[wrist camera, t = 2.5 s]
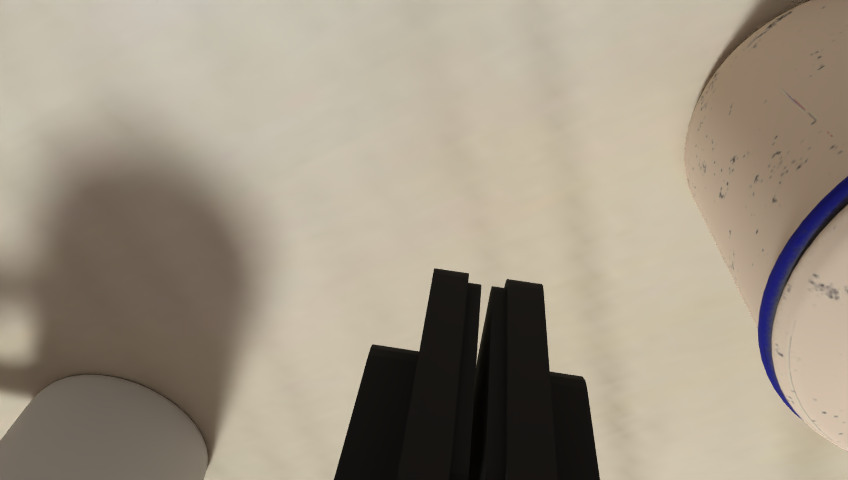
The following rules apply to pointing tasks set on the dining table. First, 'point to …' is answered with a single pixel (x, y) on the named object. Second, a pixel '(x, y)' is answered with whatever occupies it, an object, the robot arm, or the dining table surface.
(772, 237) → the teacup with lid
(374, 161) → the dining table surface
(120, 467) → the mug
